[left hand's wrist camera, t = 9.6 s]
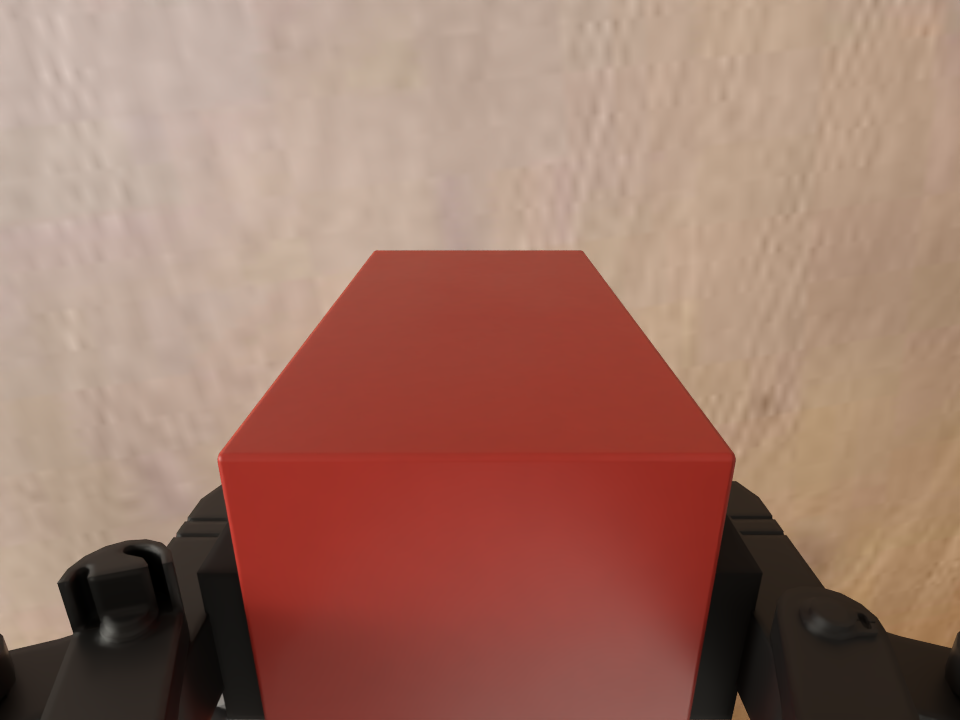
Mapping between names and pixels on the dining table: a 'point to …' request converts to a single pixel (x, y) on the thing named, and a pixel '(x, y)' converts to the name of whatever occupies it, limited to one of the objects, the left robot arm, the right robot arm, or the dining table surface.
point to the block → (477, 502)
